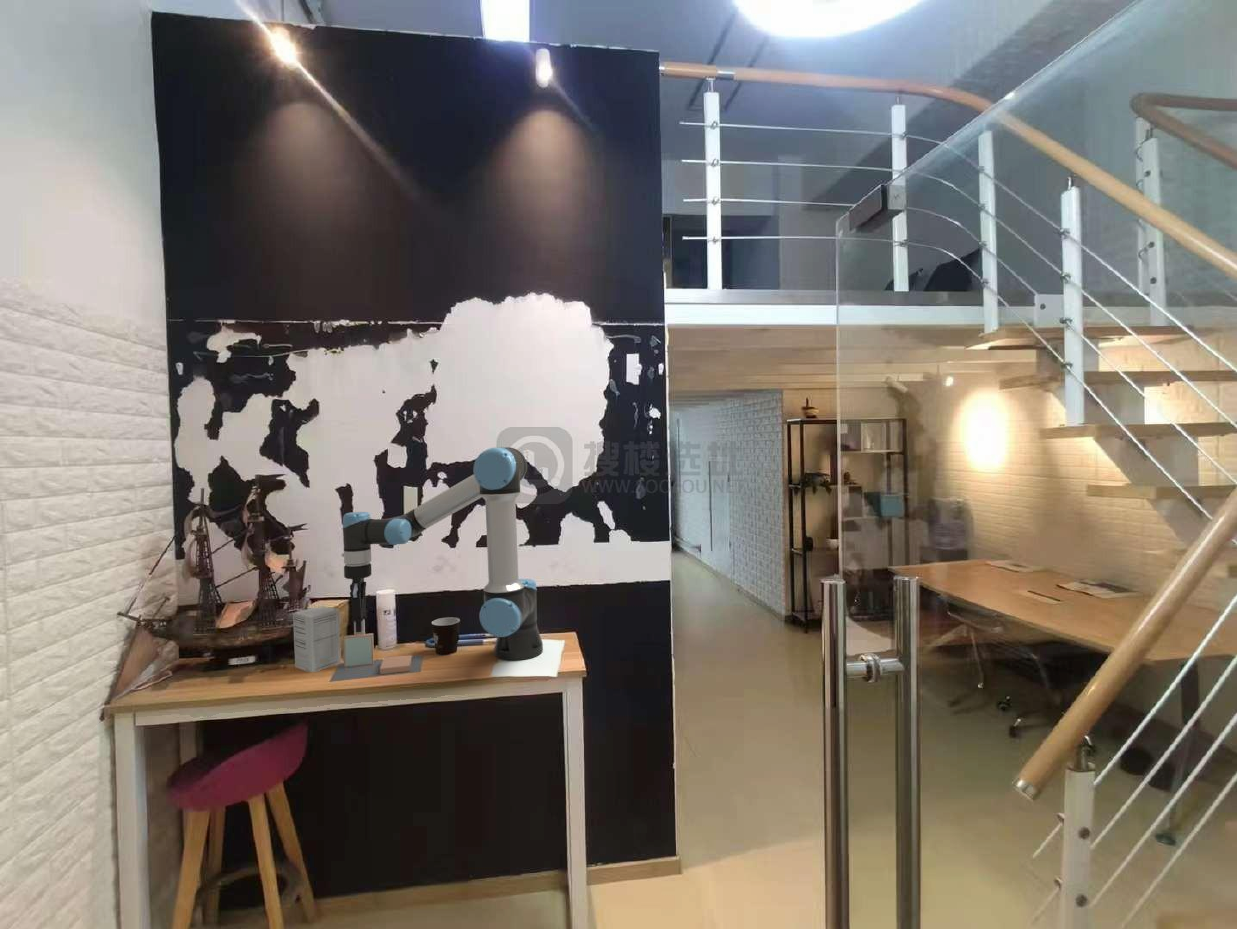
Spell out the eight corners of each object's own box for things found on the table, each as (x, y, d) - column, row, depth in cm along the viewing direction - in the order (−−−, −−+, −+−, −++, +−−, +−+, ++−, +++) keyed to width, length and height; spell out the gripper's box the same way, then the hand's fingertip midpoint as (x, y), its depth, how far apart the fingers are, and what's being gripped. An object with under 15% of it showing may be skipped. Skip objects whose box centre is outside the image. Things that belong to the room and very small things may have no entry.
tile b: (374, 662, 177) (373, 633, 177) (373, 664, 175) (372, 634, 175) (345, 665, 175) (344, 635, 174) (344, 667, 173) (343, 637, 173)
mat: (423, 656, 183) (423, 655, 183) (420, 673, 169) (420, 671, 169) (339, 665, 176) (339, 663, 176) (329, 683, 163) (329, 681, 163)
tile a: (412, 655, 178) (409, 665, 169) (412, 660, 178) (409, 671, 169) (383, 657, 176) (379, 668, 167) (383, 663, 176) (380, 674, 167)
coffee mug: (432, 649, 189) (431, 619, 188) (459, 646, 191) (459, 616, 191) (432, 662, 178) (431, 629, 177) (461, 658, 180) (461, 626, 180)
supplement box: (324, 658, 182) (323, 604, 182) (342, 664, 177) (340, 608, 177) (293, 668, 174) (291, 612, 174) (311, 674, 169) (309, 616, 169)
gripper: (348, 560, 181) (350, 636, 182) (339, 568, 169) (341, 650, 169) (374, 559, 183) (376, 633, 184) (367, 567, 171) (369, 647, 171)
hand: (359, 641), depth 177 cm, fingers closed
